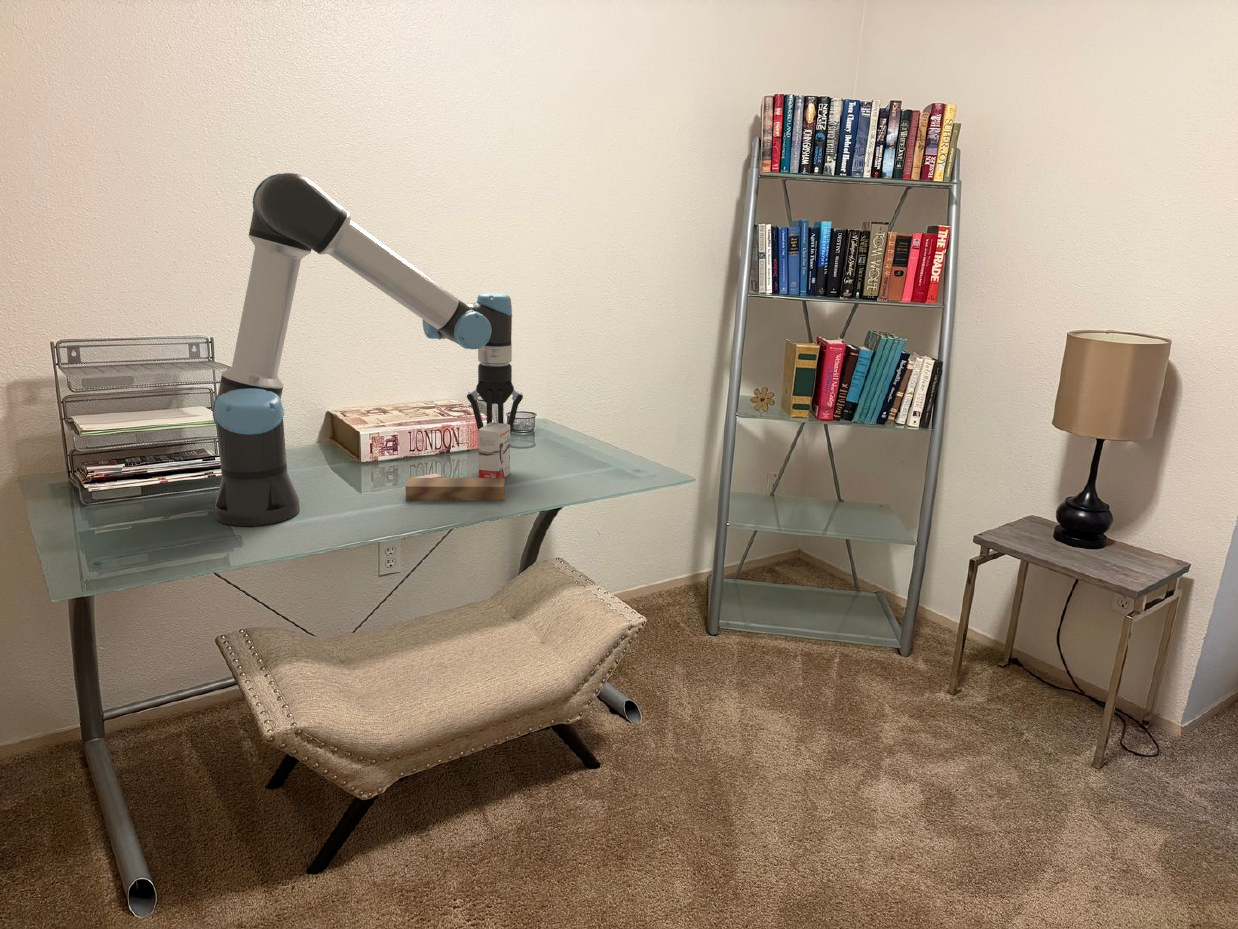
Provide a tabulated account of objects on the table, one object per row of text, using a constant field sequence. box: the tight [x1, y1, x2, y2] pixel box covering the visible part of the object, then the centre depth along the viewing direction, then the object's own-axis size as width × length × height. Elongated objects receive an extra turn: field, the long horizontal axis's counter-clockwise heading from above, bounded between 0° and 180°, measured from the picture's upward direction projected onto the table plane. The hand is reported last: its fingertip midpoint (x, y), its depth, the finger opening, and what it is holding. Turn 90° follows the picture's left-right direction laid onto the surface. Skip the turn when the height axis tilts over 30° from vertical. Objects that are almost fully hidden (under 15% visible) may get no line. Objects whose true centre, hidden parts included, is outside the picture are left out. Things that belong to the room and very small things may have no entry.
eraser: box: [413, 473, 443, 478], centre depth 189 cm, size 6×2×2 cm, turn 130°
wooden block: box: [404, 477, 506, 501], centre depth 182 cm, size 20×6×3 cm, turn 96°
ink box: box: [477, 421, 511, 479], centre depth 194 cm, size 9×5×12 cm, turn 168°
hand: (495, 463), depth 202 cm, fingers closed
